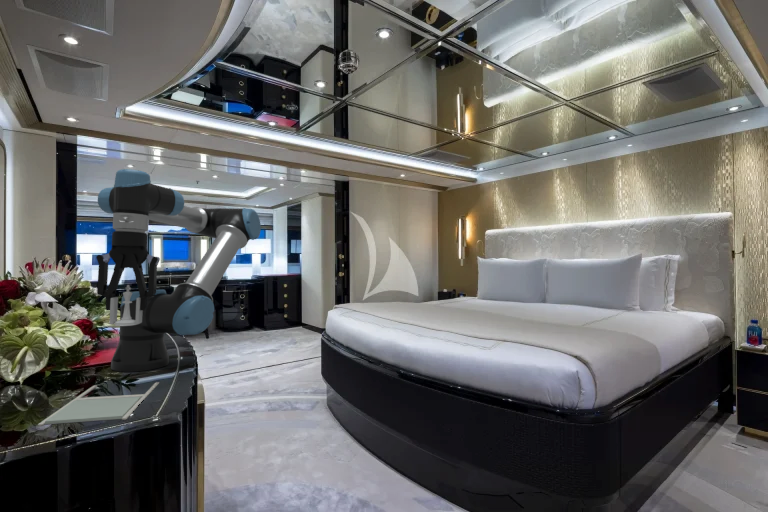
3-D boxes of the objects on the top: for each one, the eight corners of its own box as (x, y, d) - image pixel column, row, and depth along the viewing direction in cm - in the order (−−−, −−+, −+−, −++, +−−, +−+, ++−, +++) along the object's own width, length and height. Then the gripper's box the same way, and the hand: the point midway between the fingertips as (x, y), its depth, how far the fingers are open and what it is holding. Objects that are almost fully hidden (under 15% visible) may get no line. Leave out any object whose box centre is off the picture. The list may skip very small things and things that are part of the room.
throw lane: (93, 386, 98) (93, 384, 98) (159, 383, 103) (159, 381, 103) (37, 425, 74) (38, 422, 74) (126, 419, 79) (126, 416, 79)
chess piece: (120, 326, 94) (122, 285, 95) (110, 324, 97) (112, 284, 97) (141, 324, 99) (143, 285, 99) (131, 322, 101) (133, 284, 102)
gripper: (81, 228, 92) (76, 326, 92) (166, 232, 97) (162, 325, 97) (95, 230, 99) (90, 321, 99) (173, 234, 105) (169, 320, 104)
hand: (126, 323), depth 98 cm, fingers closed on chess piece, 5 cm apart
